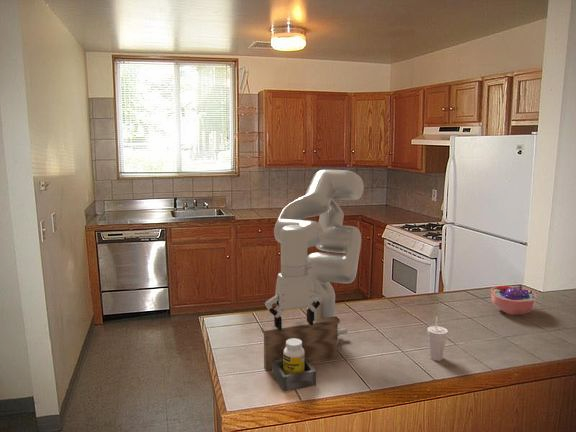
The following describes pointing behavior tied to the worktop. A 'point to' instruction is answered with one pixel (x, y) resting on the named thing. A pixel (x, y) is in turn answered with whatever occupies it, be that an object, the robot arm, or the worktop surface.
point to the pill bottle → (293, 357)
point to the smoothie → (436, 341)
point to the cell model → (513, 299)
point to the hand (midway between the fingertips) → (294, 326)
